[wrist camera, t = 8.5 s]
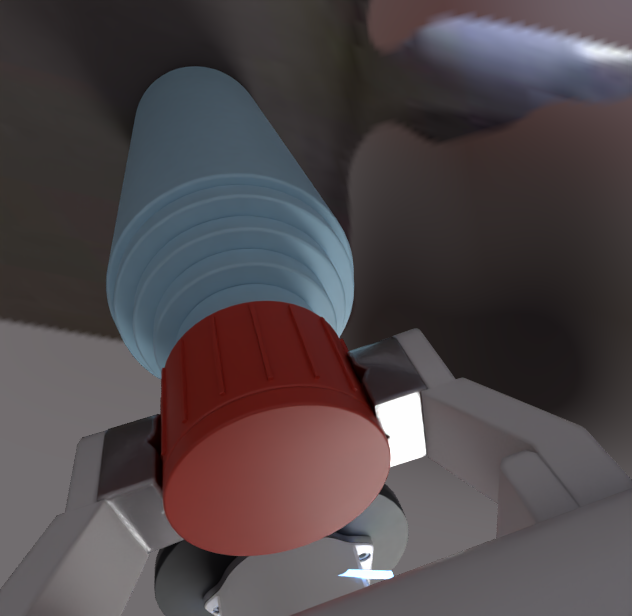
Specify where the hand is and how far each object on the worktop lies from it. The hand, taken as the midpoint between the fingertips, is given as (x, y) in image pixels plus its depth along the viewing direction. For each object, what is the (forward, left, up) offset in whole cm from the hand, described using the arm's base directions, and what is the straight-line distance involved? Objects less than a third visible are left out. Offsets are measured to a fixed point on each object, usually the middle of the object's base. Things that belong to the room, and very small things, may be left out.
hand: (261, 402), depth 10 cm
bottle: (0, 0, -20) cm, 20 cm away
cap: (0, 0, -1) cm, 1 cm away
